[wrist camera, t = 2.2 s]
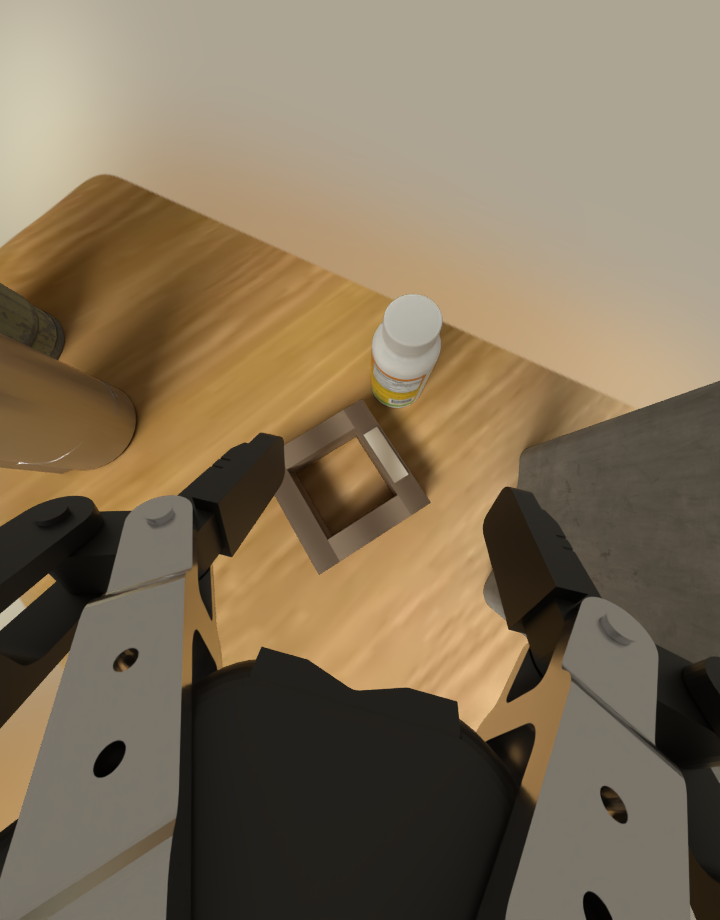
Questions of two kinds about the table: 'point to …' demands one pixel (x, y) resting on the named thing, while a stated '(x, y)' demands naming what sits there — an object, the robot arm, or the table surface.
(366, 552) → the table surface
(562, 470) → the hip flask
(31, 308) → the olive fabric bag
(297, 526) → the socket block
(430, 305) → the supplement bottle
